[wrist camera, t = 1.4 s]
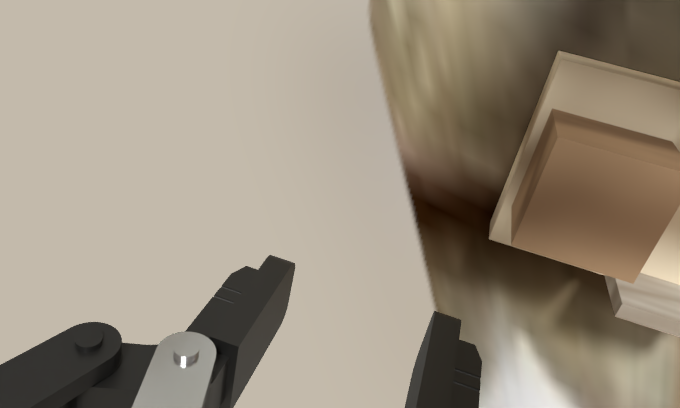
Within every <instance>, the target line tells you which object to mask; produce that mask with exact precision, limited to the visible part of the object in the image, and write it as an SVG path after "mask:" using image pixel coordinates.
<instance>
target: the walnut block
mask: <svg viewBox="0 0 680 408" xmlns="http://www.w3.org/2000/svg"><path fill="white" fill-rule="evenodd" d="M679 206H680V152H679V150H678V149H677V148H676V146H675V145H674V143H673V142H672V141H669V140H665V139H661V138H658V137H654V136H650V135H647V134H643V133H640V132H636V131H632V130H629V129H625V128H622V127H618V126H614V125H611V124H607V123H603V122H600V121H596V120H593V119H589V118H585V117H582V116H578V115H574V114H571V113H567V112H564V111H560V110H556V109H553V108H552V110H551V112H550V115H549V117H548V120H547V122H546V124H545V127H544V129H543V132H542V134H541V136H540V139H539V141H538V144H537V146H536V149H535V151H534V153H533V156H532V158H531V161H530V163H529V166H528V168H527V170H526V173H525V175H524V178H523V180H522V182H521V185H520V187H519V190H518V192H517V195H516V197H515V199H514V202H513V204H512V207H511V246H515V247H518V248H521V249H524V250H527V251H530V252H534V253H537V254H540V255H543V256H546V257H549V258H553V259H556V260H559V261H562V262H565V263H569V264H572V265H575V266H578V267H581V268H584V269H588V270H591V271H594V272H597V273H600V274H603V275H607V276H610V277H613V278H616V279H619V280H622V281H626V282H629V283H632V284H633V283H634V282H635V280H636V278H637V277H638V275H639V273H640V272H641V270H642V268H643V266H644V265H645V263H646V261H647V260H648V258H649V256H650V255H651V253H652V251H653V250H654V248H655V246H656V245H657V243H658V241H659V239H660V238H661V236H662V234H663V233H664V231H665V229H666V228H667V226H668V224H669V223H670V221H671V219H672V218H673V216H674V214H675V212H676V211H677V209H678V207H679Z"/></svg>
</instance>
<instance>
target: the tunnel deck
mask: <svg viewBox="0 0 680 408" xmlns="http://www.w3.org/2000/svg"><path fill="white" fill-rule="evenodd" d="M552 108H553V109H556V110H560V111H564V112H567V113H571V114H574V115H578V116H582V117H585V118H589V119H593V120H596V121H600V122H603V123H607V124H611V125H614V126H618V127H622V128H625V129H629V130H632V131H636V132H640V133H643V134H647V135H650V136H654V137H658V138H661V139H665V140H669V141H672V142H673V143H674V145H675V146H676V148H677V149H678V150H679V152H680V82H678V81H674V80H670V79H666V78H663V77H659V76H655V75H651V74H647V73H643V72H639V71H636V70H632V69H628V68H624V67H620V66H616V65H613V64H609V63H605V62H601V61H597V60H593V59H590V58H586V57H582V56H578V55H574V54H570V53H567V52H563V51H559V50H558V52H557V55H556V57H555V60H554V62H553V65H552V68H551V70H550V73H549V75H548V78H547V80H546V83H545V85H544V88H543V90H542V93H541V95H540V98H539V100H538V103H537V105H536V108H535V110H534V113H533V115H532V118H531V120H530V123H529V125H528V128H527V130H526V133H525V136H524V138H523V141H522V143H521V146H520V148H519V151H518V153H517V156H516V158H515V161H514V163H513V166H512V168H511V171H510V173H509V176H508V178H507V181H506V183H505V186H504V188H503V191H502V193H501V196H500V198H499V201H498V203H497V206H496V209H495V211H494V214H493V216H492V219H491V221H490V231H489V239H490V240H493V241H496V242H500V243H503V244H506V245H509V246H511V207H512V204H513V202H514V199H515V197H516V195H517V192H518V190H519V187H520V185H521V182H522V180H523V178H524V175H525V173H526V170H527V168H528V166H529V163H530V161H531V158H532V156H533V153H534V151H535V149H536V146H537V144H538V141H539V139H540V136H541V134H542V132H543V129H544V127H545V124H546V122H547V120H548V117H549V115H550V112H551V110H552ZM512 247H515V246H512ZM515 248H518V247H515ZM519 249H521V248H519ZM522 250H524V249H522ZM525 251H527V250H525ZM528 252H530V251H528ZM531 253H534V252H531ZM534 254H537V253H534ZM538 255H540V254H538ZM541 256H543V255H541ZM544 257H546V256H544ZM547 258H549V257H547ZM550 259H553V258H550ZM553 260H556V259H553ZM557 261H559V260H557ZM560 262H562V261H560ZM563 263H565V262H563ZM566 264H569V263H566ZM569 265H572V264H569ZM572 266H575V265H572ZM576 267H578V266H576ZM579 268H581V267H579ZM582 269H584V268H582ZM585 270H588V269H585ZM588 271H591V270H588ZM592 272H594V271H592ZM595 273H597V272H595ZM598 274H600V273H598ZM601 275H603V274H601ZM604 276H605V280H606V284H607V288H608V292H609V296H610V300H611V304H612V307H613V311H614V315H615V317H618V318H621V319H624V320H627V321H630V322H633V323H636V324H640V325H643V326H646V327H649V328H652V329H655V330H658V331H661V332H664V333H667V334H670V335H673V336H676V337H680V206H679V207H678V209H677V211H676V212H675V214H674V216H673V218H672V219H671V221H670V223H669V224H668V226H667V228H666V229H665V231H664V233H663V234H662V236H661V238H660V239H659V241H658V243H657V245H656V246H655V248H654V250H653V251H652V253H651V255H650V256H649V258H648V260H647V261H646V263H645V265H644V266H643V268H642V270H641V272H640V273H639V275H638V277H637V278H636V280H635V282H634V283H633V284H632V283H629V282H626V281H622V280H619V279H616V278H613V277H610V276H607V275H604Z"/></svg>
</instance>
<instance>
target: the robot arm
mask: <svg viewBox="0 0 680 408" xmlns="http://www.w3.org/2000/svg"><path fill="white" fill-rule="evenodd" d="M294 271H295V263H292V262H290V261H287V260H284V259H281V258H278V257H275V256H272V255H269V256H268V257H267V259H266V260H265V261H264V263H263V264H262V265H261V267H260V268H259V270H256V269H253V268H251V267H248V266H245V267H244V268H242V269H240V270H238V271H236V272H234V273H232V274H231V275H230V276H229V277H228V279H227V280H226V281H225V282H224V284H223V285H222V287H221V288H220V289H219V290H218V291H217V292H216V294H215V295H214V297H212V299H211V300H210V301H209V302H208V304H207V305H206V306H205V307H204V309H203V310H202V311H201V312H200V314H199V315H198V316H197V317H196V319H195V320H194V321H193V322H192V324H191V325H190V326H189V327H188V329H187V330H186V331H185V332H178V333H175V334H172V335H170V336H168V337H166V338H165V339H164V340H162V341H161V342H160V343H159V345H140V344H129V343H122V338H121V335H120V333H119V332H118V330H116V328H114V327H112V326H111V325H108V324H105V323H100V322H88V323H83V324H79V325H76V326H73V327H71V328H70V329H67V330H66V331H64V332H62V333H60V334H58V335H56V336H54V337H52V338H50V339H49V340H47V341H45V342H43V343H41V344H39V345H37V346H35V347H33V348H32V349H30V350H28V351H26V352H24V353H22V354H20V355H18V356H16V357H15V358H13V359H11V360H9V361H7V362H5V363H3V364H1V365H0V408H233V407H234V405H235V403H236V402H237V400H238V398H239V397H240V395H241V393H242V391H243V390H244V388H245V386H246V384H247V383H248V381H249V379H250V378H251V376H252V374H253V372H254V371H255V369H256V367H257V365H258V364H259V362H260V360H261V358H262V357H263V355H264V353H265V351H266V350H267V348H268V346H269V345H270V343H271V341H272V339H273V338H274V336H275V334H276V332H277V330H278V329H279V327H280V325H281V323H282V321H283V319H284V316H285V313H286V310H287V306H288V302H289V296H290V291H291V286H292V281H293V276H294ZM460 326H461V320H460V319H457V318H454V317H451V316H448V315H445V314H442V313H439V312H436V311H434V313H433V316H432V318H431V321H430V323H429V326H428V329H427V332H426V334H425V337H424V340H423V342H422V345H421V348H420V350H419V353H418V356H417V359H416V362H415V366H414V369H413V373H412V378H411V382H410V386H409V391H408V395H407V400H406V404H405V408H479V394H480V393H479V390H480V378H481V366H482V361H481V358H480V356H479V353H478V351H477V349H476V346H475V345H473V344H470V343H467V342H465V341H462V340H459V334H460Z"/></svg>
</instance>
